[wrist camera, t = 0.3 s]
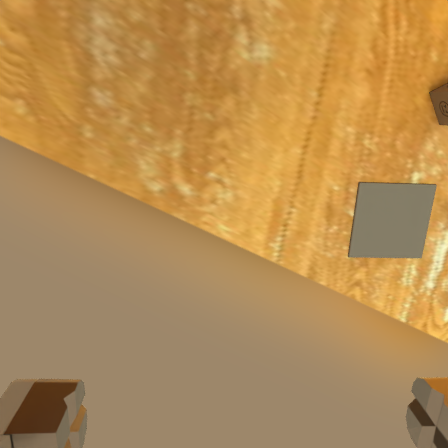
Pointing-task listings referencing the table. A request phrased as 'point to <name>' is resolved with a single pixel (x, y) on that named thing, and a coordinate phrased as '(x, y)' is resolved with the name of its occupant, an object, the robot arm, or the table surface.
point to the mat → (391, 220)
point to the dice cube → (440, 103)
